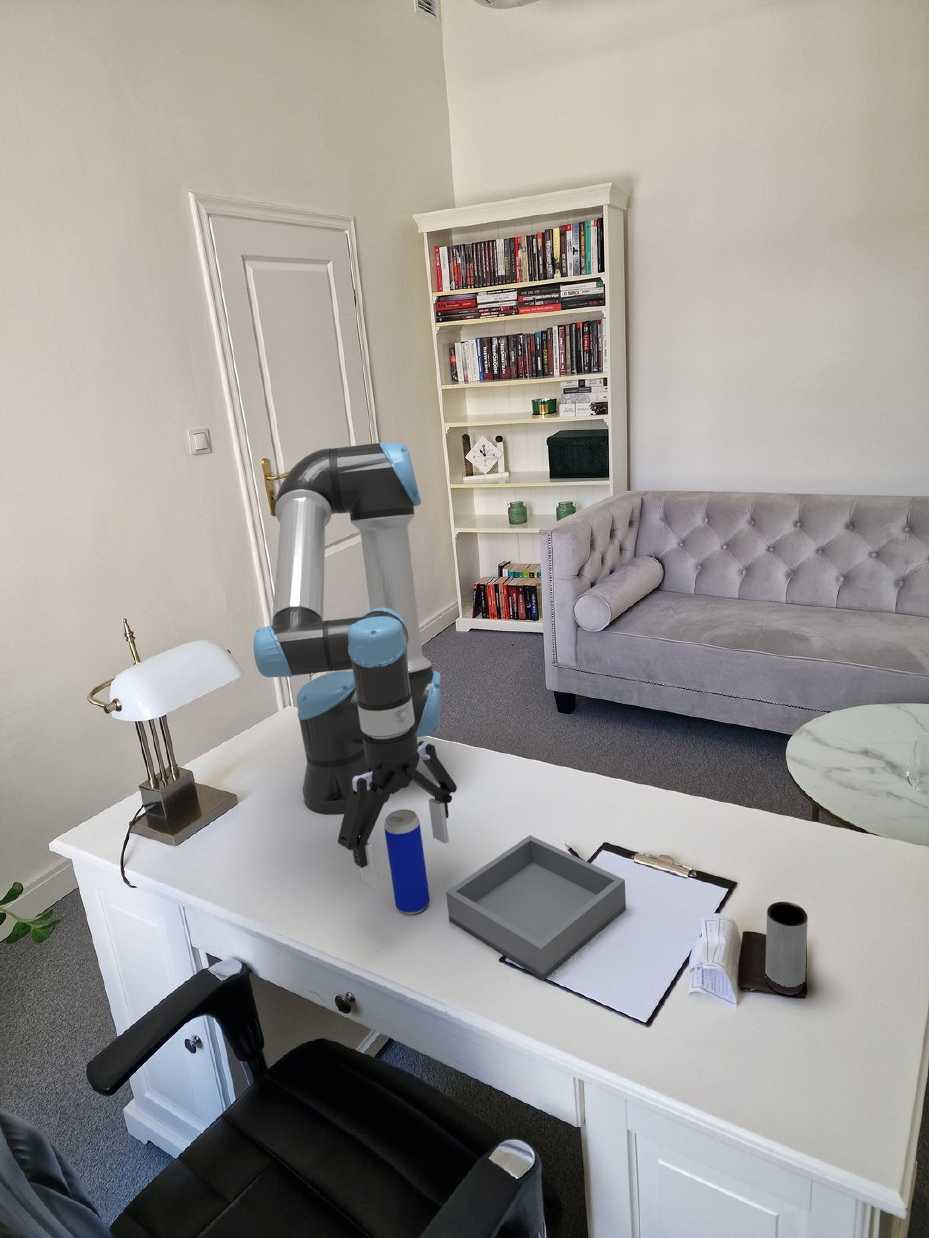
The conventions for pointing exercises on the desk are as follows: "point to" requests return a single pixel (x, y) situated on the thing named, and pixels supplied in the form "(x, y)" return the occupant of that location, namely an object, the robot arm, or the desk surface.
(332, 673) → the robot arm
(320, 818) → the desk surface
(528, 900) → the bin
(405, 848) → the beverage can
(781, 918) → the grey cylinder
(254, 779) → the desk surface
